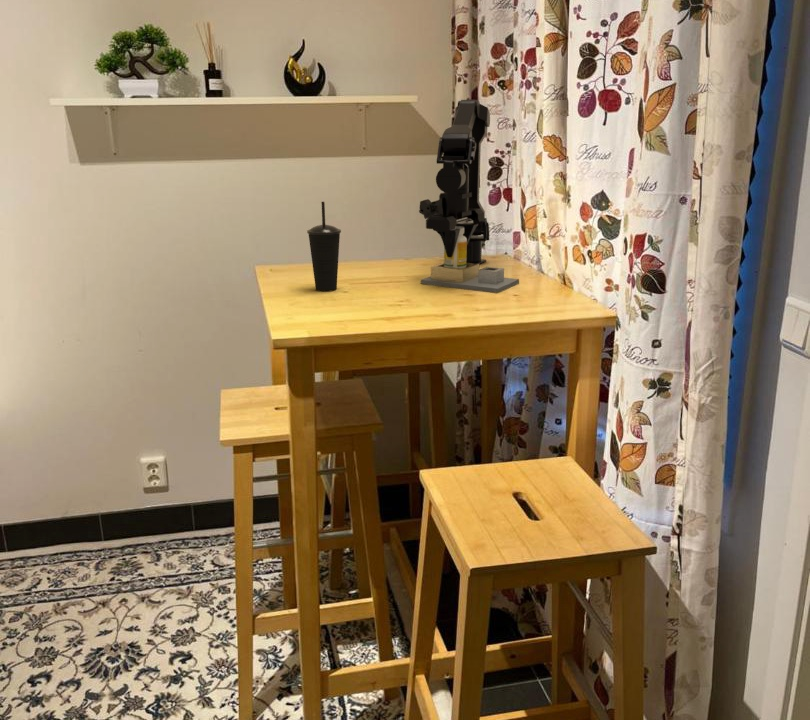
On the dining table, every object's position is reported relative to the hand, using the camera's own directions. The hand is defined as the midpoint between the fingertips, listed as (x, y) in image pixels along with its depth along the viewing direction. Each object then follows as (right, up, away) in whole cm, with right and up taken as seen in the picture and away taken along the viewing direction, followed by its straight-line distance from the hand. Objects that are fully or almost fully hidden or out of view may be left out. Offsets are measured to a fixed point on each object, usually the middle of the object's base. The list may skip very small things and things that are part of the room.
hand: (455, 255), depth 187 cm
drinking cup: (-30, -9, -5) cm, 32 cm away
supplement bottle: (0, -3, +1) cm, 3 cm away
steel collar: (+8, -8, -3) cm, 12 cm away
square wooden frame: (0, -6, +2) cm, 6 cm away
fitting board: (+3, -7, 0) cm, 8 cm away
